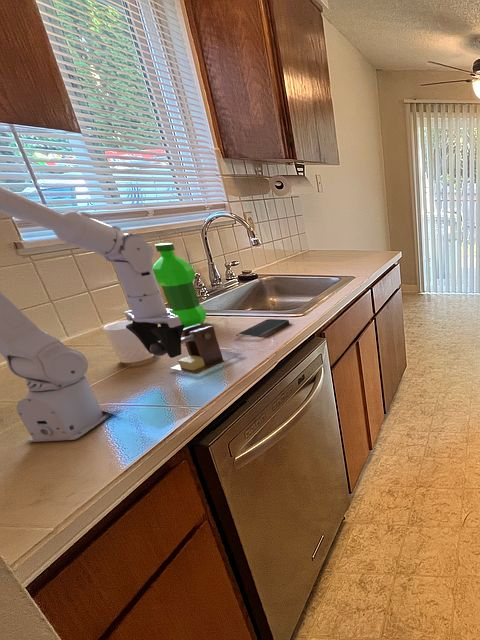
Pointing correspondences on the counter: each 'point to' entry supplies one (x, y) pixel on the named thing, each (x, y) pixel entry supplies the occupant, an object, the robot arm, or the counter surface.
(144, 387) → the counter surface
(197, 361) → the butter
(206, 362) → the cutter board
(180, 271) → the plastic bottle
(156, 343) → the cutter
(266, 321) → the phone
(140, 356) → the white cup
